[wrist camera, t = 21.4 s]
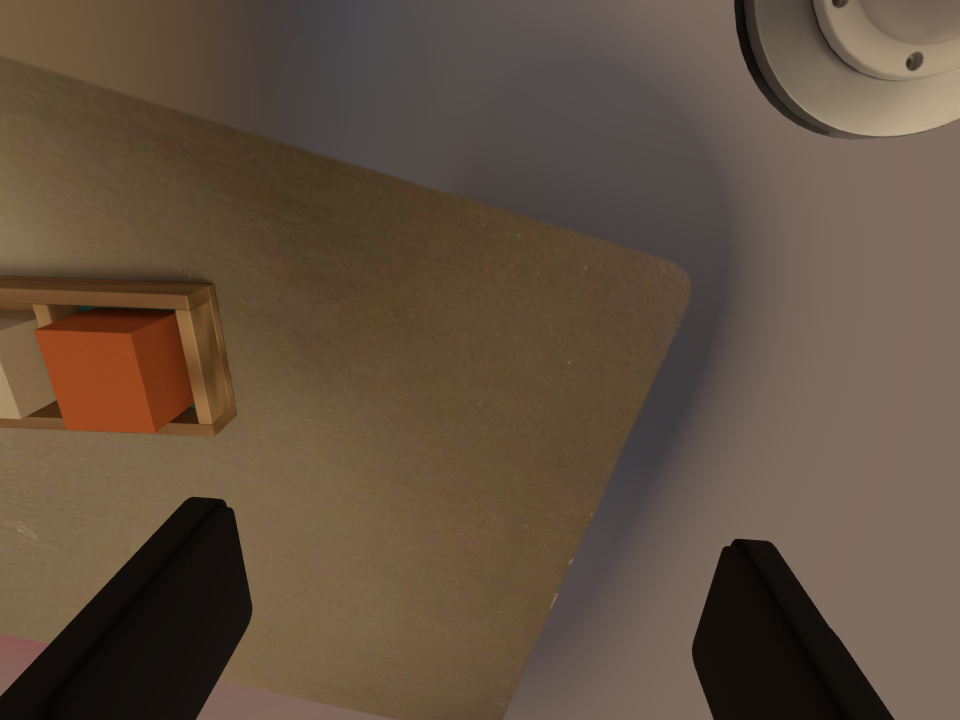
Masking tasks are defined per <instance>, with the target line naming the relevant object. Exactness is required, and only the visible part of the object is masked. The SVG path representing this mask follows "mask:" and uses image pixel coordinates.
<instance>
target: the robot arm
mask: <svg viewBox="0 0 960 720" xmlns="http://www.w3.org/2000/svg"><path fill="white" fill-rule="evenodd" d="M813 5H814V9H815V12H816V16H817V19H818V22H819V26H820V29H821V30H822V32H823V34H824V36H825V37H826V39H827V41H828V43H829V45H830V46H831V48H832V49H833V50H834V51H835V52H836V53H837V54H838V55H839V56H840V57H841V58H842V60H843V61H844V62H846V63H847V64H849V65H850V66H852V67H853V68H855V69H857V70H858V71H860V72H861V73H864V74H867V75H870V76H873V77H876V78H879V79H885V80H897V81H905V80H913V79H921V78H927V77H931V76H935V75H939V74H943V73H948V72H951V71H953V70H955V69H958V68H960V0H834V5H833V3H832V0H813ZM251 615H252V602H251V597H250V592H249V587H248V581H247V576H246V571H245V566H244V561H243V555H242V550H241V545H240V540H239V535H238V530H237V524H236V519H235V514H234V511H233V509H232V508H229V507H227V505H226V502H225V501H224V500H222V499H215V498H202V497H191V498H188V499H187V500H186V501H184V502H183V503H182V505H181V506H180V507H179V508H178V509H177V510H176V511H175V512H174V513H173V514H172V515H171V516H170V517H169V518H168V519H167V520H166V521H165V523H164V524H163V525H162V526H161V527H160V528H159V529H158V530H157V531H156V532H155V533H154V534H153V535H152V536H151V537H150V538H149V540H148V541H147V542H146V543H145V544H144V545H143V546H142V547H141V548H140V549H139V550H138V551H137V552H136V553H135V554H134V555H133V556H132V558H131V559H130V560H129V561H128V562H127V563H126V564H125V565H124V566H123V567H122V568H121V569H120V570H119V571H118V572H117V573H116V575H115V576H114V577H113V578H112V579H111V580H110V581H109V582H108V583H107V584H106V585H105V586H104V587H103V588H102V589H101V590H100V591H99V593H98V594H97V595H96V596H95V597H94V598H93V599H92V600H91V601H90V602H89V603H88V604H87V605H86V606H85V607H84V608H83V609H82V611H81V612H80V613H79V614H78V615H77V616H76V617H75V618H74V619H73V620H72V621H71V622H70V623H69V624H68V625H67V626H66V628H65V629H64V630H63V631H62V632H61V633H60V634H59V635H58V636H57V637H56V638H55V639H54V640H53V641H52V642H51V643H50V644H49V646H48V647H47V648H46V649H45V650H44V651H43V652H42V653H41V654H40V655H39V656H38V657H37V658H36V659H35V660H34V661H33V663H32V664H31V665H30V666H29V667H28V668H27V669H26V670H25V671H24V672H23V673H22V674H21V675H20V676H19V677H18V679H16V681H15V682H14V683H13V684H12V685H11V686H10V687H9V688H8V689H7V690H6V691H5V692H4V693H3V694H2V695H1V696H0V720H196V718H197V716H198V715H199V713H200V711H201V709H202V708H203V706H204V704H205V702H206V700H207V699H208V697H209V695H210V693H211V691H212V689H213V688H214V686H215V684H216V683H217V681H218V679H219V677H220V675H221V674H222V672H223V670H224V668H225V666H226V665H227V663H228V661H229V659H230V658H231V656H232V654H233V652H234V650H235V649H236V647H237V645H238V643H239V641H240V640H241V638H242V636H243V634H244V632H245V631H246V629H247V627H248V625H249V622H250V619H251ZM692 656H693V662H694V665H695V669H696V671H697V674H698V677H699V680H700V683H701V685H702V688H703V691H704V694H705V696H706V699H707V702H708V705H709V708H710V711H711V713H712V716H713V719H714V720H894V718H893V717H892V715H891V714H890V713H889V711H888V710H887V708H886V706H885V705H884V704H883V702H882V701H881V699H880V698H879V696H878V695H877V693H876V692H875V691H874V689H873V687H872V686H871V684H870V683H869V681H868V680H867V678H866V677H865V676H864V674H863V673H862V671H861V670H860V668H859V667H858V665H857V664H856V662H855V661H854V659H853V658H852V657H851V655H850V653H849V652H848V651H847V649H846V648H845V646H844V645H843V643H842V642H841V640H840V639H839V637H838V636H837V635H836V634H835V633H834V631H833V630H832V629H831V628H830V627H829V626H828V624H827V623H826V621H825V620H824V618H823V617H822V615H821V614H820V613H819V611H818V610H817V608H816V606H815V605H814V603H813V602H812V600H811V599H810V598H809V596H808V595H807V593H806V592H805V590H804V589H803V587H802V586H801V584H800V583H799V581H798V580H797V579H796V577H795V575H794V574H793V572H792V571H791V569H790V568H789V566H788V565H787V563H786V562H785V561H784V559H783V557H782V556H781V554H780V553H779V552H778V550H777V548H776V547H775V546H774V545H773V544H772V543H771V542H769V541H761V540H747V539H735V540H734V541H733V542H732V544H731V546H725V547H724V548H723V549H722V552H721V555H720V558H719V561H718V565H717V568H716V571H715V574H714V577H713V580H712V583H711V587H710V590H709V593H708V596H707V600H706V603H705V606H704V609H703V613H702V615H701V619H700V622H699V625H698V628H697V631H696V635H695V638H694V641H693V645H692Z"/></svg>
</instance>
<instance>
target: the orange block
mask: <svg viewBox="0 0 960 720" xmlns="http://www.w3.org/2000/svg"><path fill="white" fill-rule="evenodd" d="M34 332H35V335H36V338H37V341H38V344H39V347H40V350H41V353H42V356H43V359H44V362H45V365H46V368H47V371H48V374H49V377H50V381H51V384H52V387H53V390H54V393H55V396H56V399H57V402H58V405H59V408H60V411H61V414H62V417H63V420H64V423H65V426H66V429H67V430H89V431H112V432H135V433H156V432H157V431H159V430H160V429H161V428H163V427H164V426H165V425H166V424H168V423H169V422H170V421H172V420H173V419H174V418H175V417H177V416H178V415H179V414H180V413H182V412H183V411H184V410H186V409H187V408H188V407H189V406H191V405H192V404H193V403H194V398H193V393H192V389H191V384H190V379H189V374H188V370H187V365H186V360H185V355H184V350H183V346H182V341H181V336H180V331H179V327H178V322H177V317H176V312H175V311H168V310H142V309H116V308H94V309H91V310H88V311H86V312H83V313H80V314H77V315H74V316H71V317H69V318H66V319H63V320H60V321H57V322H54V323H51V324H49V325H46V326H43V327H40V328H37V329H35V330H34Z"/></svg>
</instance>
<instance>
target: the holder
mask: <svg viewBox="0 0 960 720" xmlns="http://www.w3.org/2000/svg"><path fill="white" fill-rule="evenodd" d="M94 308H116V309H142V310H168V311H175V312H176V317H177V322H178V327H179V331H180V336H181V341H182V346H183V350H184V355H185V360H186V365H187V370H188V374H189V379H190V384H191V389H192V393H193V398H194V403H193V404H192V405H191V406H189V407H188V408H187V409H186V410H184V411H183V412H182V413H180V414H179V415H178V416H177V417H175V418H174V419H173V420H172V421H170V422H169V423H168V424H166V425H165V426H164V427H163V428H161V429H160V430H159V431H157V432H156V433H143V434H165V435H188V436H211V437H214V436H216V435H217V434H218V433H219V432H220V431H221V430H222V429H223V428H224V427H225V426H226V425H227V424H228V423H229V422H230V421H231V420H232V419H233V418H234V417H235V416H236V415H237V414H236V408H235V402H234V397H233V391H232V385H231V380H230V374H229V368H228V363H227V357H226V351H225V345H224V340H223V334H222V328H221V323H220V317H219V311H218V306H217V300H216V294H215V289H214V284H201V283H175V282H148V281H121V280H95V279H68V278H41V277H15V276H0V310H24V311H34V312H35V315H36V318H37V321H38V325H39V328H40V327H43V326H46V325H49V324H51V323H54V322H57V321H60V320H63V319H66V318H69V317H71V316H74V315H77V314H80V313H83V312H86V311H88V310H91V309H94ZM0 427H6V428H28V429H51V430H67V429H66V426H65V423H64V420H63V417H62V414H61V411H60V408H59V405H58V402H57V400H56V401H54V402H52V403H50V404H48V405H46V406H45V407H43V408H41V409H39V410H37V411H35V412H33V413H31V414H29V415H28V416H26V417H24V418H22V419H6V418H0ZM74 431H89V430H74ZM97 432H112V431H97ZM120 433H135V432H120Z"/></svg>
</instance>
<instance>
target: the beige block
mask: <svg viewBox="0 0 960 720" xmlns="http://www.w3.org/2000/svg"><path fill="white" fill-rule="evenodd" d="M37 328H39V325H38V321H37V318H36V315H35V312H34V311H24V310H0V418H6V419H22V418H24V417H26V416H28V415H29V414H31V413H33V412H35V411H37V410H39V409H41V408H43V407H45V406H46V405H48V404H50V403H52V402H54V401H56V400H57V399H56V396H55V393H54V390H53V387H52V384H51V381H50V377H49V374H48V371H47V368H46V365H45V362H44V359H43V356H42V353H41V350H40V347H39V344H38V341H37V338H36V335H35V332H34V330H35V329H37Z"/></svg>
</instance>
